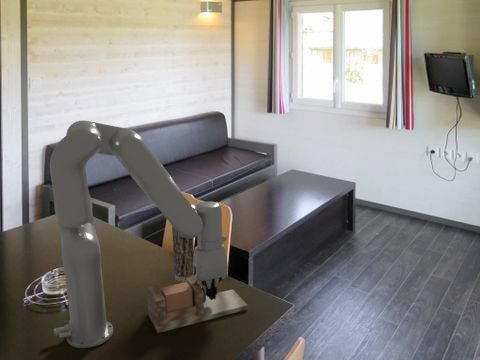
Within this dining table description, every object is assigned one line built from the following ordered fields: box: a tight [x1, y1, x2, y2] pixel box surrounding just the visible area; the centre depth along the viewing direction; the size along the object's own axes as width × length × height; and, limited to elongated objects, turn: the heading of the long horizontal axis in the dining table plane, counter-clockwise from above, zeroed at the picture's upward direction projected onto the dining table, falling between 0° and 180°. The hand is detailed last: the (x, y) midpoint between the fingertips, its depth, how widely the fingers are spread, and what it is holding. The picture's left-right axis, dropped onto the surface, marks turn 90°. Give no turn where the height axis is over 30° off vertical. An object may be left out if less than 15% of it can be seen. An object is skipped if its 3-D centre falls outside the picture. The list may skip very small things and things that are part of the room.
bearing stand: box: [146, 278, 248, 334], centre depth 139 cm, size 28×11×10 cm, turn 115°
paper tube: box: [171, 225, 195, 285], centre depth 151 cm, size 7×7×25 cm
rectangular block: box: [160, 282, 193, 313], centre depth 136 cm, size 8×5×8 cm, turn 115°
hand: (211, 297), depth 141 cm, fingers closed
